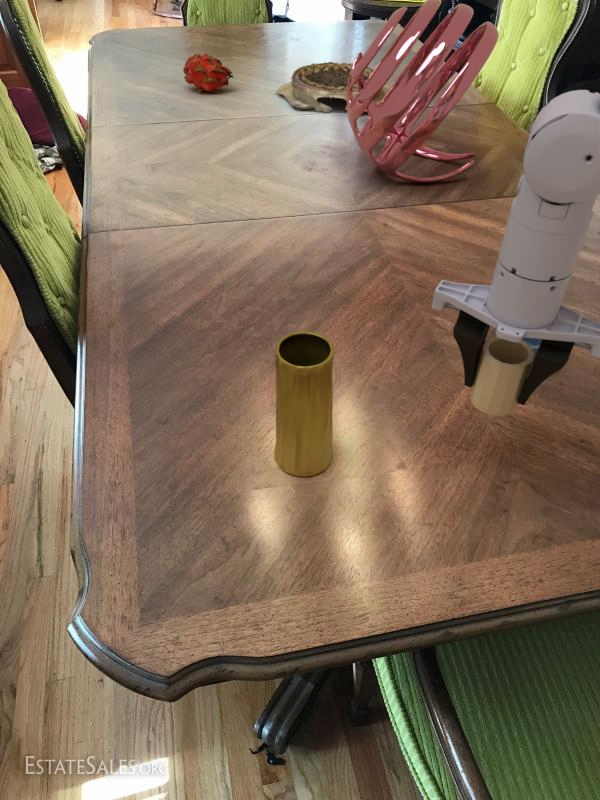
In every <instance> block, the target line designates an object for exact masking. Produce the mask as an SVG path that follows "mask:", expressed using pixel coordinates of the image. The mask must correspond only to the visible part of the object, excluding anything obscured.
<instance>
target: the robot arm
mask: <svg viewBox="0 0 600 800" xmlns="http://www.w3.org/2000/svg"><path fill="white" fill-rule="evenodd" d="M522 166H523V167H522V168H523V173H522V174H521V176H520V178H519V180H518V184H517V189H516V191H517V192H516V193H517V195H516V196H515V197H514V198H513V200H512V203H511V205H510V210H509V213H508V217H507V222H506V225H505V229H504V233H503V236H502V241H501V244H500V248H499V252H498V255H497V260H496V264H495V267H494V272H493V275H492V279H491V283H490V285H487V284H485V285H483V284H474V283H462V282H455V281H449V280H446V279H441V281H440V282H439V283H438V284H437V286H436V288H435V289H434V292H433V298H432V302H431V307H430V308H431V309H433V310H436V311H440V312H443V311H445V310H446V309H448V310H450V311H454V312H458V317H457V319H456V322H455V324H454V325H453V327H452V334H453V338H454V340H455V342H456V344H457V347H458V349H459V352H460V355H461V358H462V359H461V360H462V364H463V372H464V383H463V385H464V386H465V387H468V388H471V387H472V384H473V381H474V377H475V373H476V369H477V365H478V362H479V358H480V354H481V351H482V347H483V345H484V343H485V341H486V340H487V337H488V333H489V330H490V328H493V329H494V328H495V329H497V330H496V336H497V337H499V338H501V339H505V340H508V341H511V342H515V343H518V342H521V341H522V339H523V338H534V339H542V341H541V344H540V346H539V349H538V351H537V353H536V356H535V359H534V362H533V365H532V368H531V371H530V373H529V374H528V376H527V379H526V382H525V384H524V387H523V389H522V391H521V394H520V396H519V399H518V402H517V403H518V404H517V405H522V406H526V403H527V402H528V400H529V398H531V396H532V394H533V393H534V392H535V391H536V389H537V388H538V387H539V386H541V384H543V383H544V382H545V381H546V380H547V379H548V378H550V377H551V376H553V375H554V374H557V373H558V372H559V371H561V370H562V369H563V368H564V367H565V366H566V365H567V364H568V362H569V359H570V356H571V354H572V350H573V349H574V347H576V348H580V349H584V350H586V351H588V354H589V356H591V357H594V358H598V359H600V322H599V321H596V320H594V319H592V318H590V317H588V316H586V315H583V314H582V313H579V312H578V311H575V310H574V309H571V308H569V307H568V306H565V305H564V304H562V303H563V300H564V297H565V295H566V292H567V289H568V286H569V284H570V281H571V278H572V275H573V273H574V270H575V267H576V264H577V261H578V258H579V256H580V253H581V250H582V247H583V244H584V242H585V240H586V236H587V234H588V232H589V228H590V225H591V223H592V220H593V216H594V213H593V208H594V206H595V202H596V200H597V197H599V195H600V93H599V92H597V91H595V92H590V90H588V89H576V90H570V91H567V92H563V93H561V94H560V95H558V96H556V97H554V98H552V99H551V100H550V101H549V102H548V104H547V105H544V106H543V107H542V108H541V109H540V111H539V112H538V113H537V115H536V117H535V119H534V122H532V123H531V124H530V128H529V137H528V140H527V144H526V147H525V150H524V154H523V165H522Z"/></svg>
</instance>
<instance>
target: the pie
mask: <svg viewBox="0 0 600 800" xmlns="http://www.w3.org/2000/svg"><path fill="white" fill-rule="evenodd" d="M352 64H353V62H352V63H351V62H350V63H346V62H341V63H339V62H333V61H328V62H320V63H311V64H308V65H303V66H301V67H297V68H296V69H295V70H294V71H293V73H292V75H291V81H288V82H286V83H283V84H282V85H280V86H279V87H278V88H277V89H276V91H275V92H276V93H277V94H279V95H282V96H283V97H284V98H285V99H286V100H287V101H288V103H289V105H290V106H292V107H295V108H297V109H301V110H307V109H315V112H316V113H317V112H319V113H321V112H324V113H327V114H328V113H329V112H331V111H333V108H332V107H331V106H330V105H327V104H325V103H323V102H320V101H318V99H319V98H330V99H332V98H334V99H338V98H339V99H342V100H344V101H347V81H348V77H349V73H350V70H351V67H352ZM373 71H374V68H372V67H370V66H368V67H367V68H366V69H365V71H364V72H363V78H364V81H366V80H367V79H368V78H369V77H370V75H371V74H372V72H373ZM391 87H392V86H390V85H388V84H387V83H386V84H385V85H384V87H383V88H382V89H381V91H380V92H379V93H378V94H377V96H376V97H375V98H374V100H373V101H374V102H375V103H376V104H379V103H380V102H381V101H382V99H383V98H384V97H385V95H386V94H387V92H388V91H389V89H390V88H391ZM357 91H358V88H357V82H356V83H355V85H354V86H353V93H352V101H353V100H354V99H355V97H356V95H357ZM344 110H345V111H347V105H346V106H345V108H344ZM365 113H367V110H365V111H364V112H363V113H362V114H365Z"/></svg>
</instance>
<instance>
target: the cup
mask: <svg viewBox="0 0 600 800" xmlns="http://www.w3.org/2000/svg"><path fill="white" fill-rule="evenodd" d="M533 359H534V353H533V350H532V348H531V347H530V346H529V345H527V344H526V343H525V342H523V341H521V342H518V343H515V342H511V341H508V340H505V339H501V338H499V337H497V336H496V337H492V336H491V337H490V338H489V339H486V341H485V343H484V345H483V347H482V351H481V354H480V358H479V362H478V365H477V369H476V373H475V377H474V381H473V384H472V387H470V392H469V399H470V402H471V404H472V405H473V407H475V409H477V410H478V411H480V413H484V414H486V415H489V416H492V417H493V416H494V417H504V416H507V415H510V414H512V413H514V412H515V410H516V409H517V407H518V405H519V404H518V403H517V402H518V399H519V396H520V394H521V391H522V389H523V387H524V384H525V382H526V379H527V377H528V375H529V374H528V373H529V370H530V368H531V365H532V362H533Z"/></svg>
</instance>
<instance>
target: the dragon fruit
mask: <svg viewBox="0 0 600 800" xmlns="http://www.w3.org/2000/svg"><path fill="white" fill-rule="evenodd" d="M182 71H183V73H184V76H183V79H184V82H186V83H187V84H188V85H193V86H194V87H196V90H197V91H198V93H201V92H202V91H206V92H210V93H212V94H220V93H222V92H223V90H222V89H219V88H221V87H225V86H229V83H230V82H229V81H230V80H229V79H233V78H234V75H233V72H232V71H231V69H230V68H229V67H227V66H224V65H223V63H222V62H221V59H218V58H216V57H215V58H213V56H212V55H210V54H208V53H204V54H203V55H201V53H194V54H193V55H192V56H189V57H188V58H187V61H185V63H184V66H183V68H182Z"/></svg>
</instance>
